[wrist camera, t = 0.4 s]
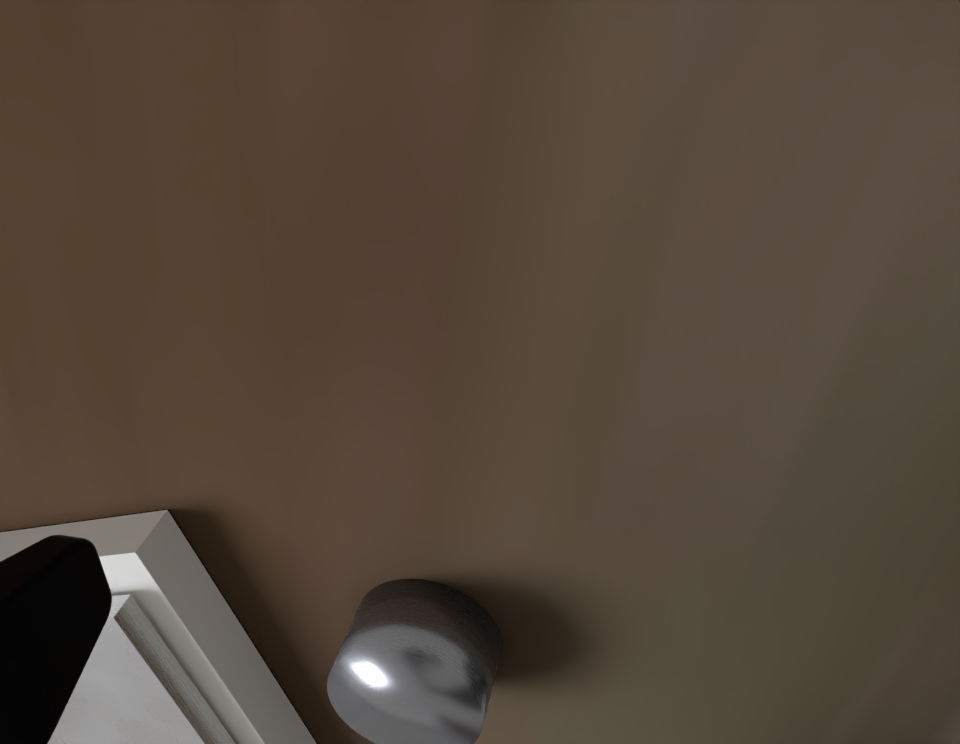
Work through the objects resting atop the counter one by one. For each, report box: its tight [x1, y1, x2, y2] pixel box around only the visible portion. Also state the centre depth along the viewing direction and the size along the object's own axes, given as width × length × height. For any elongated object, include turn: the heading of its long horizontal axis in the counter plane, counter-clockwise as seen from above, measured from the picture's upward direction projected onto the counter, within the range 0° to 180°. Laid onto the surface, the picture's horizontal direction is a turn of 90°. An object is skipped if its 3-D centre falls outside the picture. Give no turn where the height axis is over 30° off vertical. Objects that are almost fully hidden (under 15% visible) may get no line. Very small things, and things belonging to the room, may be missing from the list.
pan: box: [48, 594, 235, 744], centre depth 33 cm, size 12×12×1 cm
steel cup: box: [327, 579, 502, 744], centre depth 29 cm, size 5×5×3 cm
